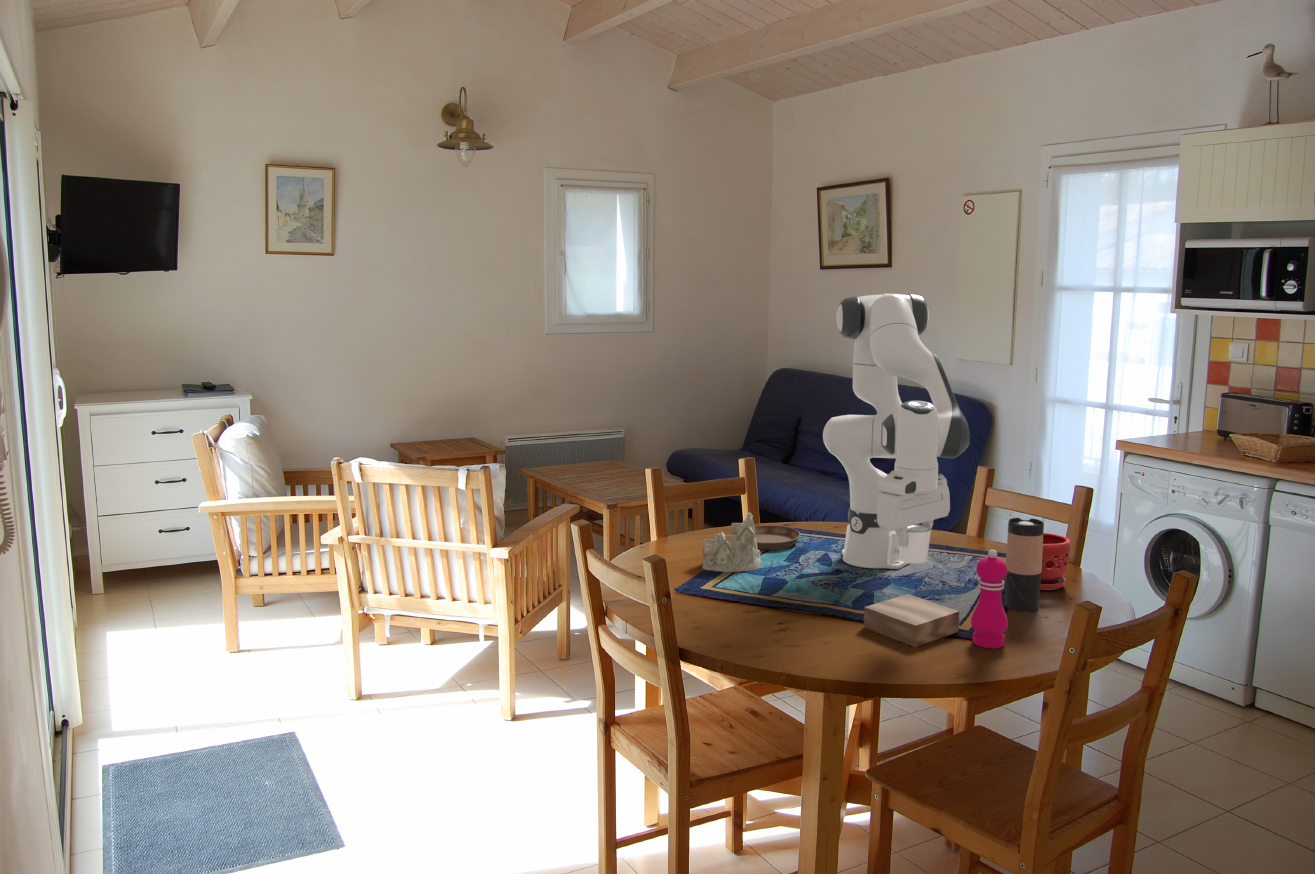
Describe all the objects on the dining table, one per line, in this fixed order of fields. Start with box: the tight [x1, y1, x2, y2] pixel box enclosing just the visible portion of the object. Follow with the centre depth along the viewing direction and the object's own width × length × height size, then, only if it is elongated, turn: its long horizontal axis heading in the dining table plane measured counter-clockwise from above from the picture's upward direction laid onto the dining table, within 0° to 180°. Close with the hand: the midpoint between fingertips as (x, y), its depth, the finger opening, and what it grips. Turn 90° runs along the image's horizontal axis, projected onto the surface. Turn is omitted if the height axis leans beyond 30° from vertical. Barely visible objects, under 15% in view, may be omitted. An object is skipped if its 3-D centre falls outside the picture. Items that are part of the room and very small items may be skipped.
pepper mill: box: [970, 549, 1009, 649], centre depth 200 cm, size 7×7×20 cm
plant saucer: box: [755, 524, 801, 551], centre depth 277 cm, size 18×18×3 cm
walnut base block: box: [863, 593, 960, 648], centre depth 210 cm, size 14×14×5 cm
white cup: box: [898, 524, 932, 565], centre depth 207 cm, size 7×7×7 cm
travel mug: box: [1004, 517, 1045, 613], centre depth 222 cm, size 8×8×20 cm
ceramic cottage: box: [701, 512, 762, 573], centre depth 258 cm, size 16×16×15 cm
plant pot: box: [1040, 532, 1071, 591], centre depth 237 cm, size 13×13×12 cm
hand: (913, 543), depth 207 cm, fingers closed on white cup, 5 cm apart
